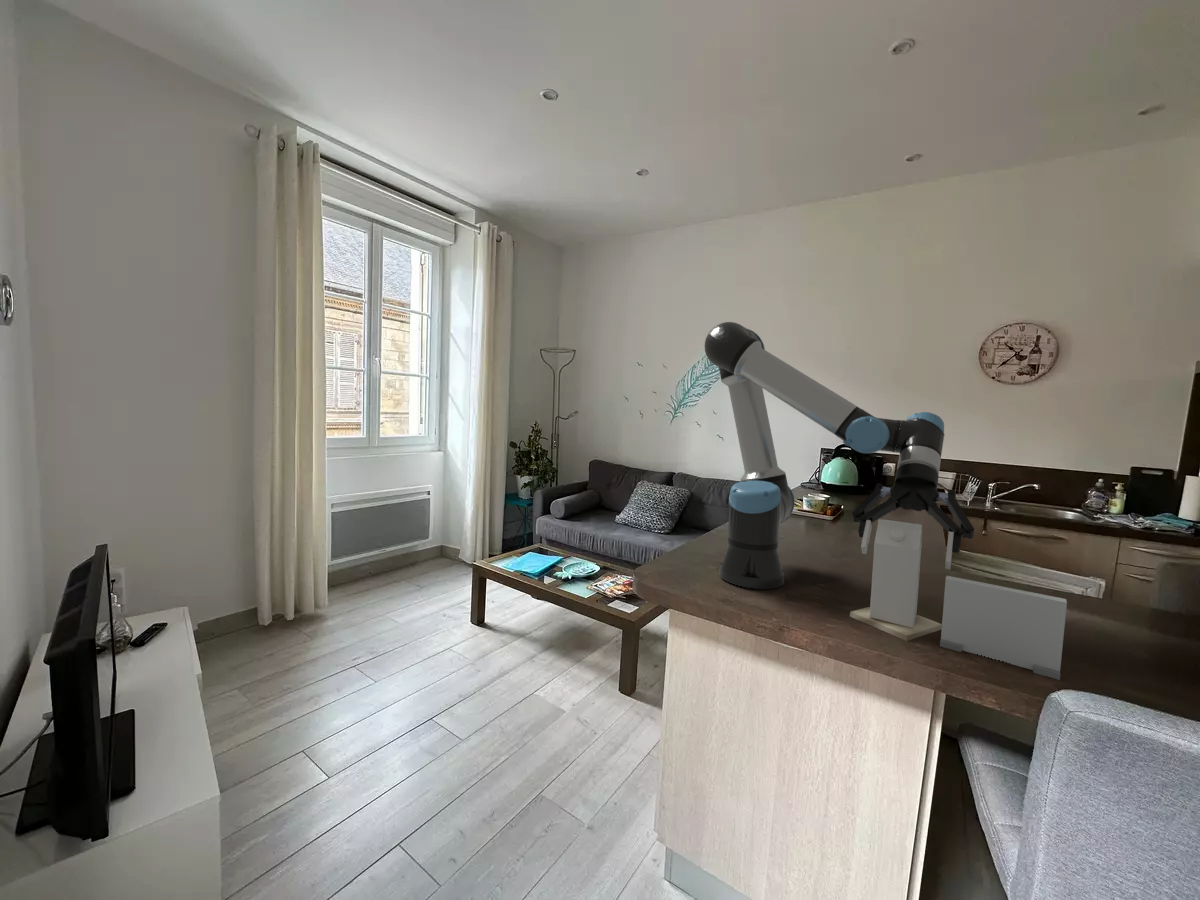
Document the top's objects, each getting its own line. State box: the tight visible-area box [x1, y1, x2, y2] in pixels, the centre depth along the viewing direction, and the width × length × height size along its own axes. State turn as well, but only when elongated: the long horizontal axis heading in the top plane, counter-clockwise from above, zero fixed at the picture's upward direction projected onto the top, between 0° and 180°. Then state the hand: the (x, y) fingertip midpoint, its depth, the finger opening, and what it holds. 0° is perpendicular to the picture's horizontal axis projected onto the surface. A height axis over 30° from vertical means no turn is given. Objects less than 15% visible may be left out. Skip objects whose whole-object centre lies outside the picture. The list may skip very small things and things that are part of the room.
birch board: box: [849, 606, 942, 642], centre depth 90 cm, size 11×11×1 cm
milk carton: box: [869, 518, 923, 628], centre depth 89 cm, size 7×7×19 cm
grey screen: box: [939, 575, 1068, 681], centre depth 77 cm, size 15×4×12 cm, turn 48°
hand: (903, 557), depth 89 cm, fingers open, 13 cm apart
